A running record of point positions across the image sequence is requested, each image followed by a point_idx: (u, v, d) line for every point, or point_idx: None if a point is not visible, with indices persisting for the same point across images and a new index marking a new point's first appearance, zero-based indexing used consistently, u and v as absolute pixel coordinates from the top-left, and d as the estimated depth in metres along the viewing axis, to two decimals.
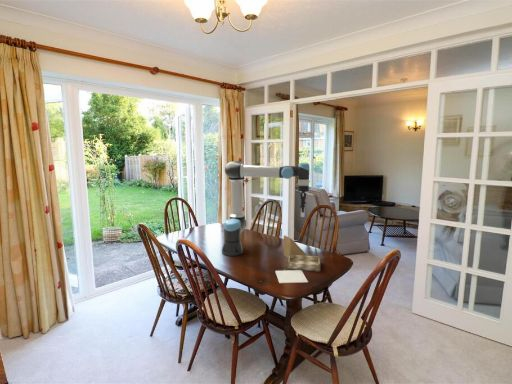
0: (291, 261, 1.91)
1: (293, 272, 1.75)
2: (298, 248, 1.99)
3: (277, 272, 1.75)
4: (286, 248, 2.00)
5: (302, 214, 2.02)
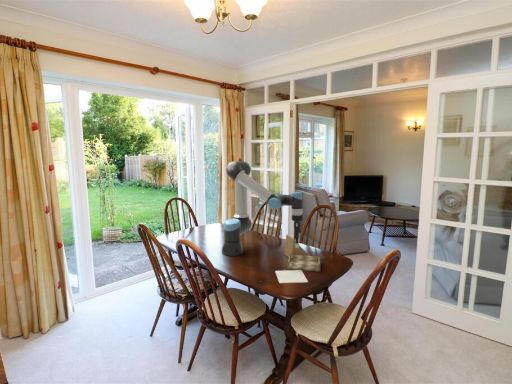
0: (291, 261, 1.91)
1: (293, 272, 1.75)
2: (300, 248, 1.98)
3: (277, 272, 1.75)
4: (288, 248, 1.99)
5: (296, 245, 1.94)
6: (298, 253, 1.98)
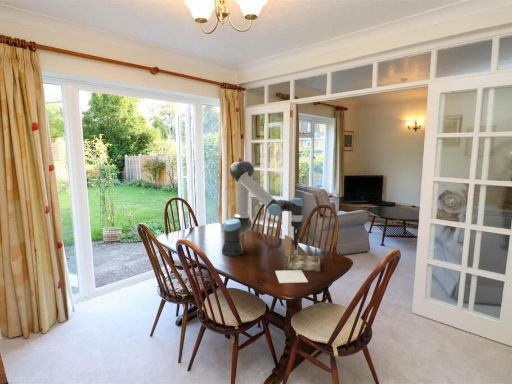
0: (291, 261, 1.91)
1: (293, 272, 1.75)
2: (299, 248, 1.99)
3: (277, 272, 1.75)
4: (287, 248, 2.01)
5: (295, 251, 1.96)
6: None
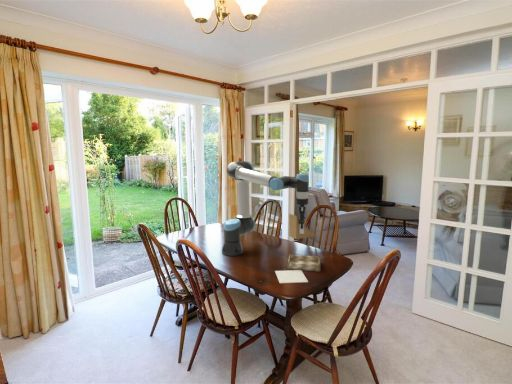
0: (291, 261, 1.91)
1: (293, 272, 1.75)
2: (304, 227, 1.86)
3: (277, 272, 1.75)
4: (292, 227, 1.88)
5: (301, 230, 1.84)
6: None
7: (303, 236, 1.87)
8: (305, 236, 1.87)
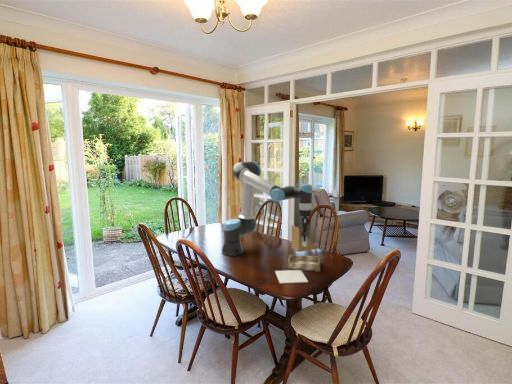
0: (291, 261, 1.91)
1: (293, 272, 1.75)
2: (307, 239, 1.80)
3: (277, 272, 1.75)
4: (294, 239, 1.82)
5: (304, 243, 1.77)
6: None
7: (306, 249, 1.80)
8: (308, 249, 1.81)
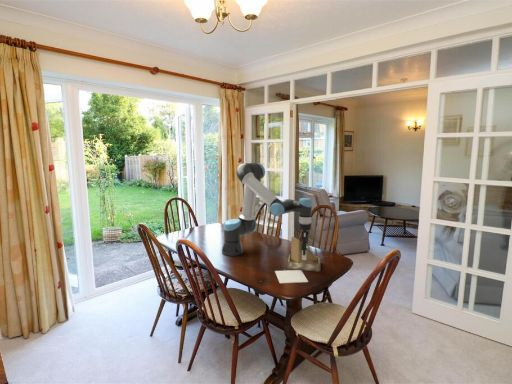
0: (291, 261, 1.91)
1: (293, 272, 1.75)
2: (307, 251, 1.81)
3: (277, 272, 1.75)
4: (294, 251, 1.83)
5: (303, 257, 1.78)
6: (306, 256, 1.81)
7: (305, 260, 1.81)
8: (308, 260, 1.82)
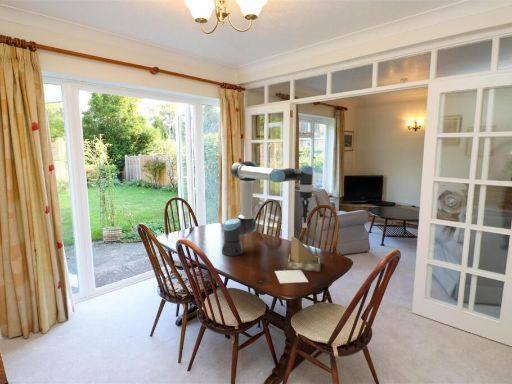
0: (291, 261, 1.91)
1: (293, 272, 1.75)
2: (307, 251, 1.81)
3: (277, 272, 1.74)
4: (294, 251, 1.83)
5: (304, 225, 1.75)
6: (306, 256, 1.81)
7: (305, 260, 1.81)
8: (307, 260, 1.82)
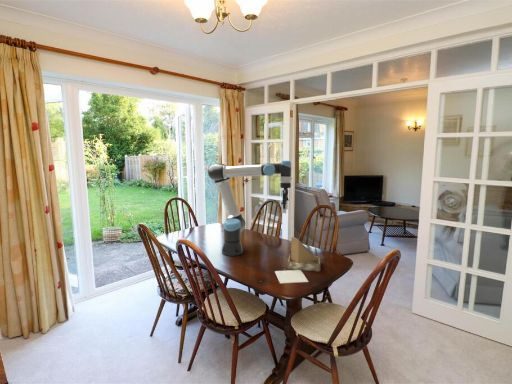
0: (291, 261, 1.91)
1: (293, 272, 1.75)
2: (307, 251, 1.81)
3: (277, 272, 1.74)
4: (294, 251, 1.83)
5: (284, 210, 2.06)
6: (306, 256, 1.81)
7: (305, 260, 1.81)
8: (307, 260, 1.82)
